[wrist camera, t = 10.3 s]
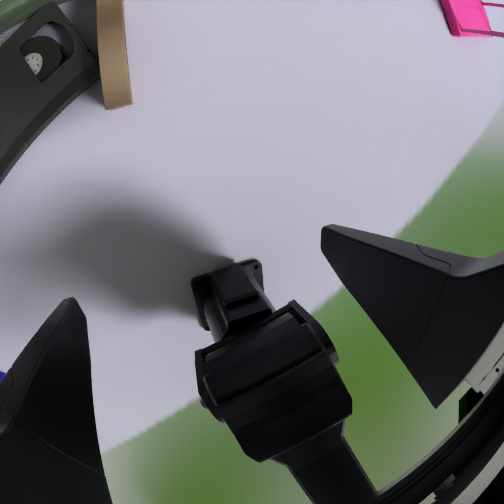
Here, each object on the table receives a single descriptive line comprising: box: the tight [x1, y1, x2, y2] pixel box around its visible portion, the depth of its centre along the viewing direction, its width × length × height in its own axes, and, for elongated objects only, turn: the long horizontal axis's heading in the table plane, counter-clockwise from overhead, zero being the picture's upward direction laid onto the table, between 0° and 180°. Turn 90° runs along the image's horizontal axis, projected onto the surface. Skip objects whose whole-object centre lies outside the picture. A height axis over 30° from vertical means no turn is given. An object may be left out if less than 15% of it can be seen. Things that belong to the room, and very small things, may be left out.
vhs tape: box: [0, 2, 101, 184], centre depth 10 cm, size 14×8×2 cm, turn 120°
